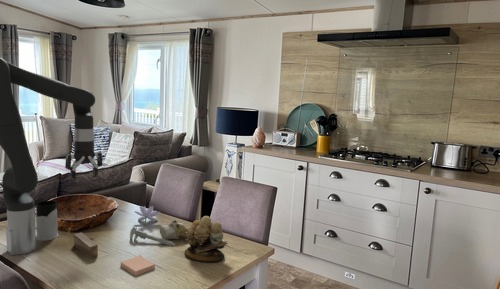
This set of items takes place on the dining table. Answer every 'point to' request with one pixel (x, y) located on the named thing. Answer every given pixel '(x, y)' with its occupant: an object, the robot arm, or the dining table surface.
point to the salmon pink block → (137, 265)
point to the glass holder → (46, 220)
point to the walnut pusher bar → (86, 245)
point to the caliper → (145, 235)
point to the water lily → (147, 214)
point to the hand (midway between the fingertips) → (84, 178)
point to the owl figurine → (205, 241)
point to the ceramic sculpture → (173, 231)
